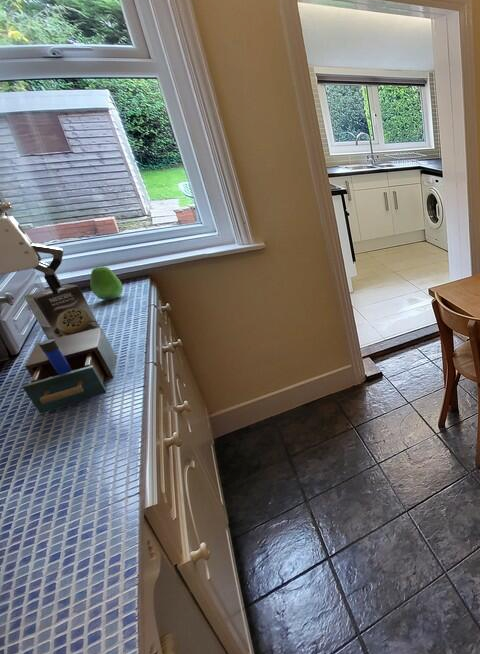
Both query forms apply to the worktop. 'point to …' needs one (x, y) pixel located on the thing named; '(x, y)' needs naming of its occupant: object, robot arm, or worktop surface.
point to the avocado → (105, 283)
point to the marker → (55, 356)
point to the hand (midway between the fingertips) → (23, 299)
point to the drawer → (66, 383)
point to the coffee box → (62, 311)
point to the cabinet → (78, 350)
